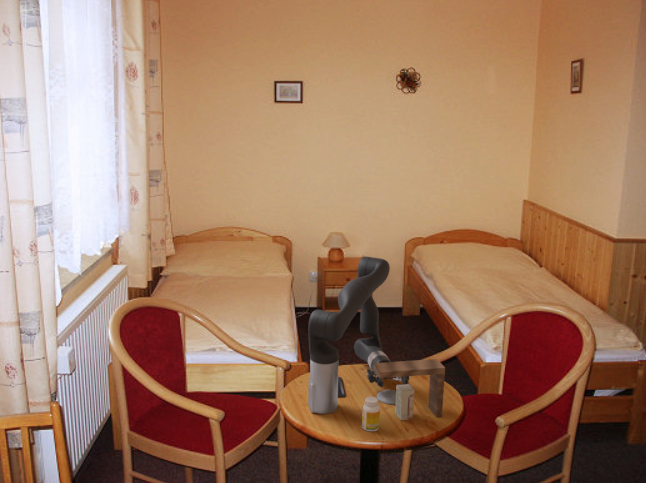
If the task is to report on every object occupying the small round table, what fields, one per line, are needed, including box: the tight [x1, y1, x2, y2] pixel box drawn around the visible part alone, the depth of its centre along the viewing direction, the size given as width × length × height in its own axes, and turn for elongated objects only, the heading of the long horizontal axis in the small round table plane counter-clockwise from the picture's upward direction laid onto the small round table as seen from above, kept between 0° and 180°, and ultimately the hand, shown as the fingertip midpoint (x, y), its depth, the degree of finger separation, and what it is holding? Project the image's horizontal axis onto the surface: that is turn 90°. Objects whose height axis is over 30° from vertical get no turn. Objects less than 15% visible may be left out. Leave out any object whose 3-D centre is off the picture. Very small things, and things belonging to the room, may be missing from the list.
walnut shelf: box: [373, 358, 446, 418], centre depth 198 cm, size 22×7×17 cm, turn 102°
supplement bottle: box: [361, 396, 381, 432], centre depth 190 cm, size 5×5×10 cm
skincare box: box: [394, 383, 415, 421], centre depth 198 cm, size 5×4×10 cm
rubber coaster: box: [376, 389, 396, 406], centre depth 211 cm, size 10×10×1 cm
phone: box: [338, 376, 346, 398], centre depth 218 cm, size 8×1×15 cm
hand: (394, 384), depth 208 cm, fingers open, 8 cm apart
